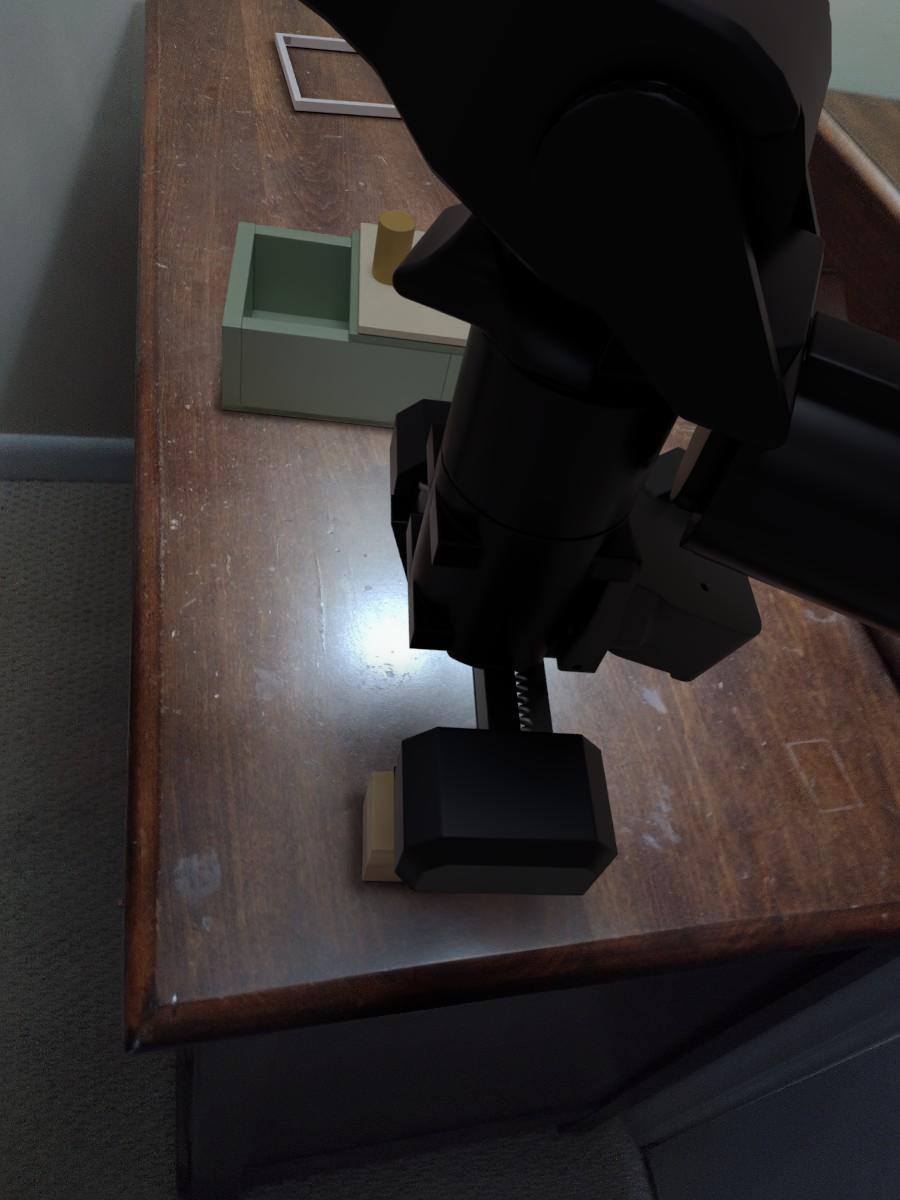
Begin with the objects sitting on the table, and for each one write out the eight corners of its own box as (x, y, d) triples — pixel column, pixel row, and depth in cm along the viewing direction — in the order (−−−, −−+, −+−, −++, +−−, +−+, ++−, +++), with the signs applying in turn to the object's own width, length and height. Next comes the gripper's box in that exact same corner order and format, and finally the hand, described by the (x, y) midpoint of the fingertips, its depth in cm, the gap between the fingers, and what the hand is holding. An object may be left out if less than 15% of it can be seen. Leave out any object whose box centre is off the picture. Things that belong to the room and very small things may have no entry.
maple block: (361, 881, 45) (371, 849, 42) (362, 805, 48) (372, 770, 45) (441, 882, 46) (457, 851, 43) (438, 808, 49) (452, 774, 45)
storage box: (222, 409, 64) (221, 317, 58) (238, 304, 71) (238, 213, 65) (449, 434, 66) (470, 348, 60) (442, 331, 74) (461, 245, 68)
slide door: (357, 333, 59) (365, 270, 56) (359, 229, 66) (367, 168, 63) (483, 349, 61) (499, 288, 57) (472, 246, 68) (485, 186, 64)
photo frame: (470, 111, 95) (295, 98, 90) (468, 122, 96) (294, 110, 90) (437, 46, 103) (275, 30, 98) (435, 56, 104) (274, 41, 99)
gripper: (911, 778, 22) (666, 968, 34) (729, 302, 33) (594, 573, 45) (448, 756, 20) (364, 966, 32) (423, 258, 31) (368, 553, 43)
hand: (441, 733), depth 38 cm, fingers open, 9 cm apart
